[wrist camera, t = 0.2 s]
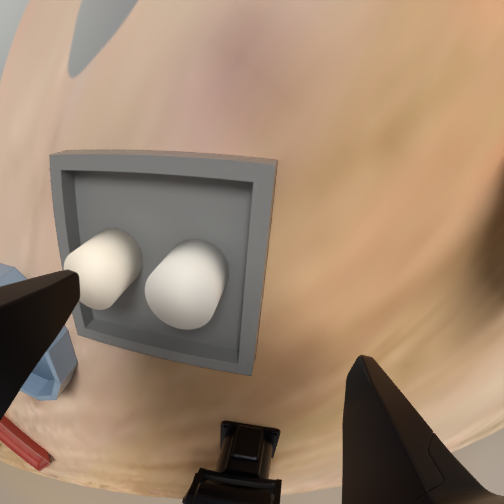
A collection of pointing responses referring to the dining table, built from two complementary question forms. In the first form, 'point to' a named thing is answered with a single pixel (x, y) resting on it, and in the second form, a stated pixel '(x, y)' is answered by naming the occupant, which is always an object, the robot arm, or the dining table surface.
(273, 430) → the robot arm
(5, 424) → the plant saucer
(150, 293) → the pebble grey
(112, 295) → the pebble sand
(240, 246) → the parts tray
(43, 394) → the glazed bowl
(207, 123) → the dining table surface
